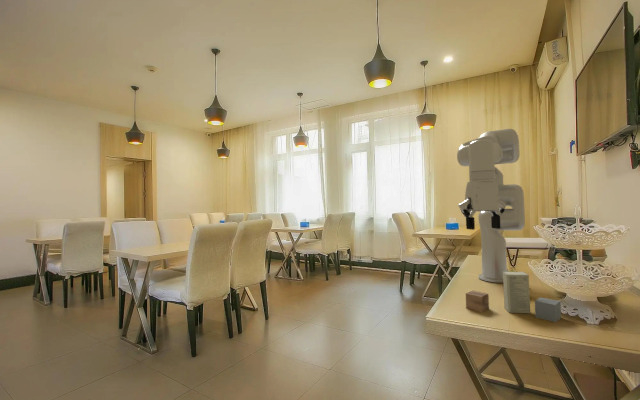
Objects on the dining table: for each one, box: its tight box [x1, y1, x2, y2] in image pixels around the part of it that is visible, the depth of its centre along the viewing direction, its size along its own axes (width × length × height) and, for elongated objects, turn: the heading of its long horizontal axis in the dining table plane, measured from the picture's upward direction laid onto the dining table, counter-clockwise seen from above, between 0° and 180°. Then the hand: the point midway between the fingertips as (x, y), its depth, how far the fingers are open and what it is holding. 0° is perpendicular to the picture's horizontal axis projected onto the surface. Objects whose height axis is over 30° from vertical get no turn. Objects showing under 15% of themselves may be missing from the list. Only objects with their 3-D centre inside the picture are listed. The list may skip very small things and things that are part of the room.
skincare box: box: [502, 271, 531, 314], centre depth 96 cm, size 6×4×12 cm
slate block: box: [534, 296, 562, 323], centre depth 90 cm, size 5×5×5 cm
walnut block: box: [465, 290, 490, 313], centre depth 98 cm, size 5×5×5 cm
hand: (483, 228), depth 100 cm, fingers open, 9 cm apart
